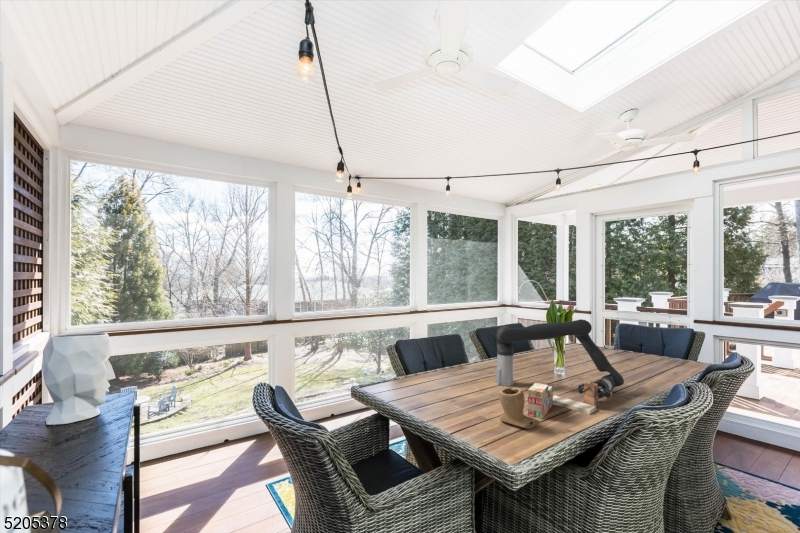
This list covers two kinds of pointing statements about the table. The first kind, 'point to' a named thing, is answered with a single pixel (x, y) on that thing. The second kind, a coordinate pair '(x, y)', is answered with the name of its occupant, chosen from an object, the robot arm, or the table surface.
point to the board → (573, 405)
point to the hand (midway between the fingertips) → (589, 393)
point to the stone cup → (515, 408)
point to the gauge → (591, 393)
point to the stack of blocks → (539, 400)
